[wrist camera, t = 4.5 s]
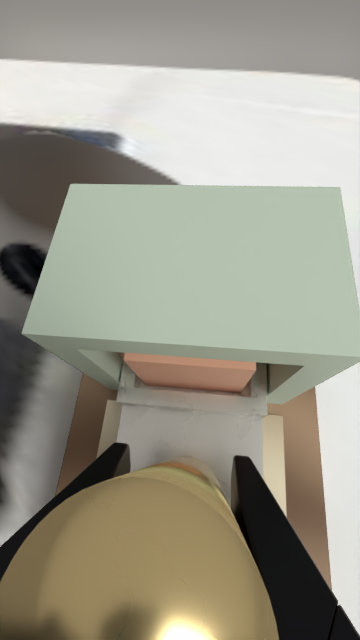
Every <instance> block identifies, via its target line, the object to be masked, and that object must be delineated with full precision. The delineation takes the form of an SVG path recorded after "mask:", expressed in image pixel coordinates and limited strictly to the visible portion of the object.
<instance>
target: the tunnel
mask: <svg viewBox="0 0 360 640" xmlns="http://www.w3.org/2000/svg"><path fill="white" fill-rule="evenodd" d="M21 334H23V335H24V336H26V337H28V338H29V339H31V340H32V341H34V342H35V343H37V344H39V345H40V346H42V347H43V348H45V349H47V350H48V351H50V352H51V353H53V354H55V355H56V356H58V357H59V358H61V359H62V360H64V361H66V362H67V363H69V364H70V365H72V366H74V367H75V368H77V369H78V370H80V371H82V372H83V373H85V374H86V375H88V376H89V377H91V378H93V379H94V380H96V381H97V382H99V383H101V384H102V385H104V386H105V387H107V388H109V389H111V390H118V389H119V383H120V378H121V372H122V366H123V361H124V359H123V358H122V357H121V356H120V355H119V354H118V352H123V353H137V354H151V355H164V356H178V357H191V358H205V359H218V360H232V361H245V362H259V363H267V403H271V404H284V403H286V402H287V401H289V400H291V399H293V398H295V397H296V396H298V395H300V394H302V393H304V392H305V391H307V390H309V389H311V388H313V387H315V386H316V385H318V384H320V383H322V382H324V381H325V380H327V379H329V378H331V377H333V376H334V375H336V374H338V373H340V372H342V371H344V370H345V369H347V368H349V367H351V366H353V365H354V364H356V363H358V362H360V310H359V304H358V298H357V291H356V285H355V279H354V272H353V266H352V260H351V253H350V247H349V241H348V234H347V228H346V222H345V215H344V209H343V203H342V196H341V190H340V187H279V186H200V185H120V184H118V185H116V184H71V185H70V188H69V191H68V194H67V197H66V200H65V203H64V206H63V209H62V212H61V215H60V218H59V221H58V224H57V227H56V230H55V233H54V236H53V239H52V242H51V246H50V248H49V251H48V254H47V257H46V260H45V263H44V266H43V269H42V272H41V276H40V279H39V282H38V285H37V288H36V291H35V294H34V297H33V300H32V303H31V306H30V309H29V312H28V315H27V318H26V321H25V324H24V327H23V330H22V333H21Z"/></svg>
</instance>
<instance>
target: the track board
mask: <svg viewBox="0 0 360 640" xmlns="http://www.w3.org/2000/svg"><path fill="white" fill-rule="evenodd" d="M118 354H119V355H120V356H121V357H122V358H123V359H124V355H125V353H123V352H118ZM117 395H118V390H111V389H109V388H107V387H105V386H104V385H102V384H101V383H99V382H97V381H96V380H94V379H93V378H91V377H89V376H88V375H86V374H85V373H83V376H82V380H81V384H80V389H79V393H78V397H77V402H76V406H75V411H74V415H73V419H72V424H71V428H70V432H69V437H68V441H67V446H66V450H65V454H64V459H63V463H62V467H61V472H60V476H59V481H58V485H57V489H56V494H55V496H56V495H57V494H58V493H59V492H61V491H62V490H63V489H64V488H65V487H66V486H67V485H68V484H69V483H70V482H71V481H73V480H74V479H75V478H76V477H77V476H78V475H79V474H80V473H81V472H82V471H83V470H84V469H86V468H87V467H88V466H89V465H90V464H91V463H92V462H93V461H94V460H95V459H96V458H98V457H99V456H100V455H101V454H102V453H103V452H104V451H105V450H106V449H107V448H108V447H109V446H111V445H112V444H113V443H115V442H116V441H117V436H118V430H119V424H120V418H121V412H122V406H123V405H122V404H120V403H118V402H116V400H117ZM267 412H268V415H267V416H266V417H264V418H263V479H264V481H265V483H266V484H267V486H268V488H269V489H270V491H271V492H272V494H273V496H274V497H275V499H276V501H277V502H278V504H279V506H280V507H281V509H282V510H283V512H284V514H285V515H286V517H287V519H288V520H289V522H290V523H291V525H292V527H293V528H294V530H295V532H296V533H297V535H298V537H299V538H300V540H301V541H302V543H303V545H304V546H305V548H306V550H307V551H308V553H309V554H310V556H311V558H312V559H313V561H314V563H315V564H316V566H317V568H318V569H319V571H320V572H321V574H322V576H323V577H324V579H325V581H326V582H327V584H328V585H329V587H330V589H331V590H332V587H331V575H330V563H329V551H328V539H327V527H326V514H325V502H324V490H323V478H322V466H321V454H320V442H319V430H318V418H317V406H316V394H315V387H313V388H311V389H309V390H307V391H305V392H304V393H302V394H300V395H298V396H296V397H295V398H293V399H291V400H289V401H287V402H286V403H284V404H271V403H267Z"/></svg>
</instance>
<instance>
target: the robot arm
mask: <svg viewBox="0 0 360 640" xmlns="http://www.w3.org/2000/svg"><path fill="white" fill-rule="evenodd" d="M130 469H131V462H130V447H129V445H128V444H127V443H119V442H115V443H113V444H112V445H111V446H109V447H108V448H107V449H106V450H105V451H104V452H103V453H102V454H101V455H100V456H99V457H98V458H96V459H95V460H94V461H93V462H92V463H91V464H90V465H89V466H88V467H87V468H86V469H84V470H83V471H82V472H81V473H80V474H79V475H78V476H77V477H76V478H75V479H74V480H73V481H71V482H70V483H69V484H68V485H67V486H66V487H65V488H64V489H63V490H62V491H61V492H59V493H58V494H57V495H56V496H55V497H54V498H53V499H52V500H51V501H50V502H49V503H47V504H46V505H45V506H44V507H43V508H42V509H41V510H40V511H39V512H38V513H37V514H36V515H34V516H33V517H32V518H31V519H30V520H29V521H28V522H27V523H26V524H25V525H24V526H22V527H21V528H20V529H19V530H18V531H17V532H16V533H15V534H14V535H13V536H12V537H10V538H9V539H8V540H7V541H6V542H5V543H4V544H3V545H2V546H1V547H0V582H1V580H2V577H3V576H4V574H5V572H6V570H7V568H8V566H9V564H10V563H11V561H12V559H13V557H14V555H15V554H16V553H17V551H18V550H19V548H20V547H21V545H22V544H23V542H24V541H25V539H26V538H27V537H28V536H29V534H30V533H31V532H32V531H33V529H34V528H35V527H36V526H37V525H38V523H39V522H41V521H42V520H43V519H44V518H45V517H46V516H47V515H48V514H49V513H50V512H51V511H52V510H53V509H54V508H56V507H57V506H58V505H60V504H61V503H62V502H64V501H65V500H66V499H68V498H69V497H71V496H73V495H74V494H76V493H78V492H80V491H81V490H83V489H85V488H88V487H90V486H93V485H95V484H98V483H100V482H103V481H106V480H109V479H112V478H115V477H118V476H121V475H124V474H127V473H130ZM231 511H232V513H233V515H234V517H235V519H236V522H237V524H238V526H239V528H240V530H241V533H242V535H243V537H244V539H245V541H246V544H247V546H248V548H249V550H250V552H251V555H252V557H253V559H254V561H255V563H256V566H257V568H258V570H259V572H260V574H261V577H262V580H263V582H264V585H265V587H266V590H267V593H268V595H269V598H270V602H271V605H272V609H273V613H274V616H275V620H276V625H277V630H278V636H279V640H360V636H359V634H358V633H357V631H356V629H355V628H354V626H353V624H352V623H351V621H350V620H349V618H348V616H347V615H346V613H345V611H344V610H343V608H342V607H341V606H340V605H338V600H337V599H336V597H335V595H334V594H333V592H332V590H331V589H330V587H329V585H328V584H327V582H326V581H325V579H324V577H323V576H322V574H321V572H320V571H319V569H318V568H317V566H316V564H315V563H314V561H313V559H312V558H311V556H310V554H309V553H308V551H307V550H306V548H305V546H304V545H303V543H302V541H301V540H300V538H299V537H298V535H297V533H296V532H295V530H294V528H293V527H292V525H291V523H290V522H289V520H288V519H287V517H286V515H285V514H284V512H283V510H282V509H281V507H280V506H279V504H278V502H277V501H276V499H275V497H274V496H273V494H272V492H271V491H270V489H269V488H268V486H267V484H266V483H265V481H264V479H263V478H262V476H261V475H260V473H259V471H258V470H257V468H256V466H255V465H254V463H253V461H252V460H251V458H250V457H248V456H241V455H235V456H234V457H233V464H232V473H231ZM337 605H338V606H337Z"/></svg>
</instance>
